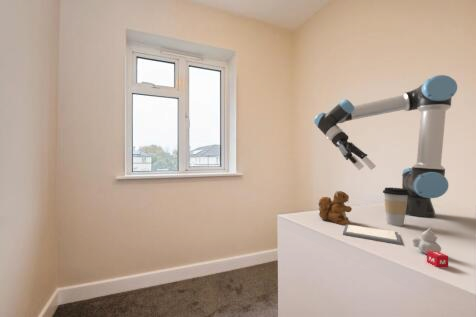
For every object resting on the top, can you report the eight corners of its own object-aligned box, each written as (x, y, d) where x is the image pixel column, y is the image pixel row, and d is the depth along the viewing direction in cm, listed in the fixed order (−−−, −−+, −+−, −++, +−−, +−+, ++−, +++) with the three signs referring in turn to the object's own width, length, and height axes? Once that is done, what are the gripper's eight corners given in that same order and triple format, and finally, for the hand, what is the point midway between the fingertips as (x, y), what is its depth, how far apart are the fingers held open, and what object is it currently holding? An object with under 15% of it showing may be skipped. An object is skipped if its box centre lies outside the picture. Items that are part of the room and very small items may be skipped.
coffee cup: (400, 221, 101) (401, 187, 101) (414, 228, 92) (415, 190, 92) (377, 220, 102) (378, 186, 102) (389, 226, 93) (390, 189, 93)
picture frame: (397, 234, 84) (397, 231, 84) (401, 244, 73) (401, 241, 73) (346, 226, 92) (346, 223, 92) (342, 234, 82) (343, 231, 82)
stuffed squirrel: (350, 226, 93) (351, 193, 93) (314, 220, 100) (315, 190, 100) (352, 220, 101) (353, 190, 101) (319, 215, 109) (320, 188, 109)
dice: (448, 267, 58) (448, 256, 58) (436, 267, 58) (437, 256, 58) (437, 262, 61) (437, 251, 61) (426, 262, 61) (426, 251, 61)
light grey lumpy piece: (440, 259, 63) (441, 230, 63) (410, 252, 67) (411, 225, 67) (441, 254, 67) (442, 226, 67) (412, 247, 71) (413, 221, 71)
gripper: (343, 143, 127) (371, 172, 115) (319, 140, 111) (349, 173, 99) (353, 133, 123) (384, 162, 111) (330, 128, 107) (362, 162, 95)
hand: (367, 168), depth 105 cm, fingers open, 13 cm apart
